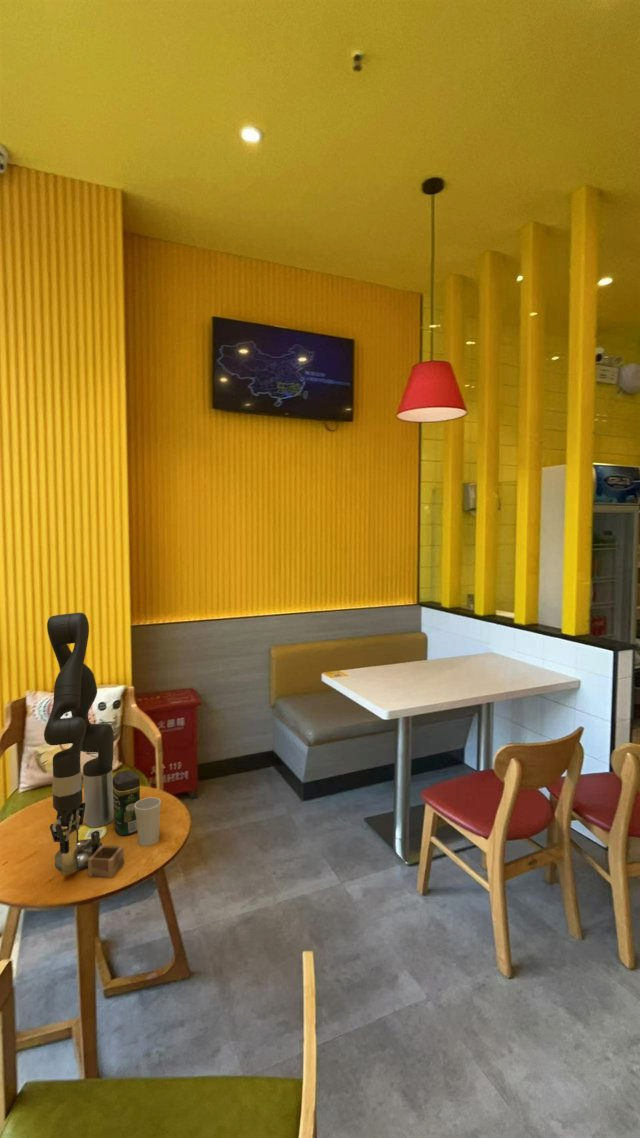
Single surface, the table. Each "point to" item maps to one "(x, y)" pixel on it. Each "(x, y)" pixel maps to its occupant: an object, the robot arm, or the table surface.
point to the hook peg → (70, 854)
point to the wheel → (83, 851)
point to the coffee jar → (125, 801)
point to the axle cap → (80, 845)
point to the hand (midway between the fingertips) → (69, 848)
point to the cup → (148, 820)
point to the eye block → (106, 861)
